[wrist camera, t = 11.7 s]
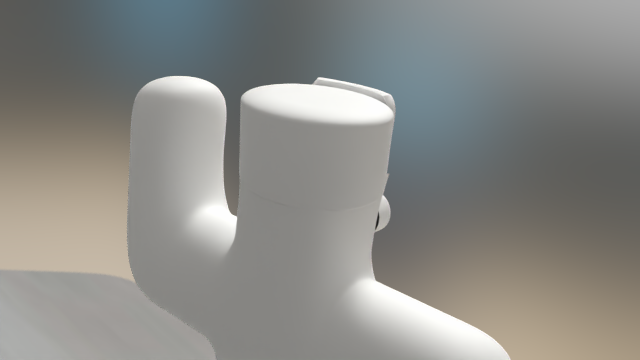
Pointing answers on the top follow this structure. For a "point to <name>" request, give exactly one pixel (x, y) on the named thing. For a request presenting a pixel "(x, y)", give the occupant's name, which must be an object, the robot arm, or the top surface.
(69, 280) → the top surface
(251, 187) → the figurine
